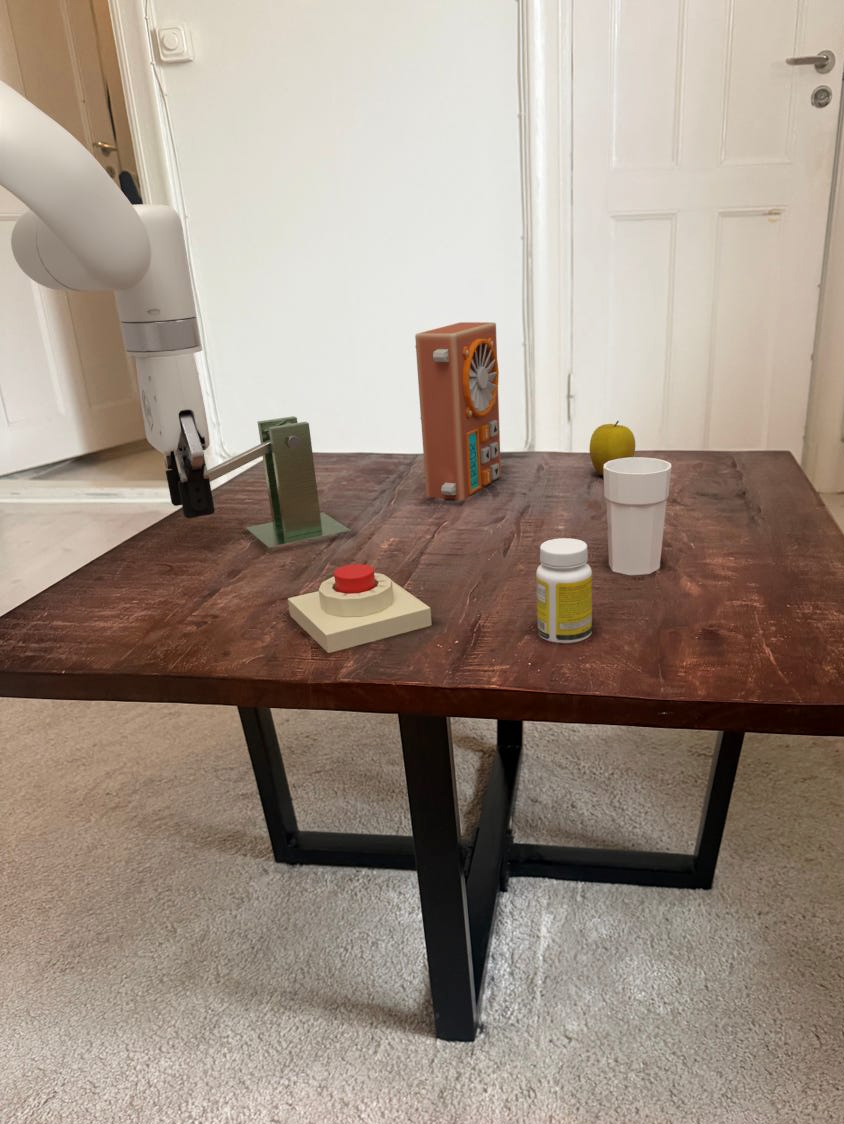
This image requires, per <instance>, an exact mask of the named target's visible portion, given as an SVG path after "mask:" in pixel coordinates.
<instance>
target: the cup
mask: <svg viewBox="0 0 844 1124" xmlns="http://www.w3.org/2000/svg"><path fill="white" fill-rule="evenodd" d="M603 470H604V476H603V496H604V498H605V500H606V519H607V521H606V522H607V523H606V524H607V546H608V547H607V549H608V566H609V568H610V569H611V571H612V572H614V573H619V574H622V575H627V576H638V575H639V576H641V575H650V574H652V573H654V572H656V571H658V570H660V568H661V557H662V549H663V539H664V530H665V520H666V519H665V518H666V511H667V509H666V508H667V502H668V499H669V494H670V485H671V476H672V475H671V474H672V463H671V462H669V461H667V460H664V459H660V458H657V457H656V458H655V457H642V456H639V457H638V456H637V457H636V456H633V457H629V458H621V459H615V460H611V461H608V462H607V463H605V464H604V467H603Z"/></svg>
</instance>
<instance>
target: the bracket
mask: <svg viewBox="0 0 844 1124" xmlns="http://www.w3.org/2000/svg"><path fill="white" fill-rule="evenodd" d="M287 422H290V423H292V424H286V425H283V424H285V423H287ZM257 426H258V427H257V428H258V434H259V435H258V436H259V441H260V444H261V443H263V442H265V441H268V440H270V441H271V448H272V451H271V452H269V453H267V454H265V455H263V456H262V463H263V467H264V474H265V482H266V488H267V495H268V502H269V503H268V504H269V508H270V514H271V516H270V517H271V522H266V523H261V524H256V525H251V526H246V527H245V529H246V530H247V531H249V532H250V533H251V534H252V535H253V536H255V538H257V540H259V541H260V542H261V543H263V544H264V545H265V546H266V547H267V548H273V547H279V546H282V545H287V544H288V545H289V544H292V543H296V542H302V541H306V540H311V539H316V538H321V537H326V536H331V535H336V534H340V533H345V532H350V531H351V529H350V528H348V527H346V526H345V525H344V524H342V523H341V522H339V521H337V520H336V519H335V518H333V517H331V516H330V515H329V514H327V513H326V512H324V511H323V512H321V510H320V501H319V493H318V486H317V478H316V477H317V476H316V469H315V461H314V453H313V446H312V445H313V444H312V438H311V430H310V429H311V427H310V423H309V422H307V421H301V422H298V417H296V416H294V415H293V416H287V417H280V418H279V417H278V418H273V419H266V420H265V419H264V420H259V421H257ZM267 432H269V434H270V438H269V435H268V433H267Z"/></svg>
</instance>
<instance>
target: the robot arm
mask: <svg viewBox="0 0 844 1124" xmlns="http://www.w3.org/2000/svg"><path fill="white" fill-rule="evenodd" d="M0 186H1V187H3V188H4V189H5V190H6V191H9V193H11V194H12V195H13V196H14V197H16V198H17V199H18V200H19V201H20V202H22V203H23V204H24V205H25V206H26V207H27V208H29V210H27V211H26V212H25V213H24V214H22V215H21V216H20V217H19V218H18V219H17V221H16V222H15V224H14V226H13V228H12V233H11V238H10V247H11V251H12V255H13V258H14V260H15V262H16V263H17V266H18V267H19V268H20V269H21V270H22V272H23V273H24V274H25V276H27V277H28V278H29V279H31V280H32V281H34V282H35V283H37V284H39V285H41V286H42V287H45V288H48V289H50V290H54V291H60V292H113V293H114V298H115V303H116V308H117V312H118V318H119V322H120V328H121V334H122V338H123V345H124V349H125V353H126V354H125V355H126V356H127V357H129V358H134V359H135V368H136V369H135V370H136V377H137V379H136V380H137V386H138V392H139V398H140V405H141V410H142V417H143V418H142V419H143V424H144V425H143V426H144V430H145V431H144V432H145V437H146V440H147V442H148V444H149V445H151V446H152V447H153V448H154V449H155V450H156V451H158V452H159V453H161V454H163V460H164V461H163V462H164V466H165V469H166V470H165V475H166V481H167V486H168V492H169V497H170V501H171V504H172V505H173V506H174V507H179V506H181V508H182V513H183V516H184V517H185V518H187V519H193V518H198V517H199V518H200V517H204V516H210V515H213V514H214V513H215V511H216V510H215V506H214V505H215V504H214V498H213V492H212V488H211V487H212V486H211V482H210V480H209V477H208V471H207V470H208V468H207V463H206V459H205V452H204V451H206V450H207V449H208V448H209V446H210V433H209V432H210V431H209V426H208V419H207V413H206V407H205V402H204V397H203V391H202V386H201V382H200V378H199V372H198V368H197V363H196V358H195V355H194V354H195V353H196V354H197V353H199V352H202V351H203V345H202V339H201V334H200V333H201V332H200V325H199V321H198V315H197V310H196V309H197V308H196V302H195V296H194V291H193V284H192V279H191V273H190V271H191V270H190V266H189V259H188V253H187V247H186V246H187V245H186V240H185V234H184V229H183V222H182V219H181V217H180V215H179V213H178V212H177V210H176V209H175V208H174V207H172V206H171V205H170V206H169V205H166V204H158V203H146V204H144V203H140V204H138V203H137V204H132V203H131V201H130V200H129V199H128V197H127V196H126V195H125V194H124V192H123V191H122V190H121V188H120V187H119V186H118V185H117V183H116V181H114V179H113V178H112V177H111V176H110V174H109V173H108V171H106V169H105V168H104V167H103V165H102V164H101V163H100V162H99V161H98V160H97V159H96V158H95V156H93V154H92V153H91V152H90V151H89V150H88V149H87V148H86V147H85V146H84V145H83V143H81V142H80V141H79V140H78V139H77V138H76V137H75V136H74V135H72V133H70V132H69V131H68V130H67V129H65V128H64V127H63V126H62V125H61V124H60V123H58V122H57V121H55V119H53V118H52V117H50V116H49V115H48V114H47V113H45V112H44V111H43V110H41V109H39V108H38V107H37V106H36V105H35V104H33V103H32V102H31V101H30V100H28V99H27V98H26V97H24V96H23V95H22V94H20V93H19V92H18V91H17V90H16V89H14V88H12V87H11V86H10V85H8V84H7V83H5V82H4V81H3V80H1V79H0ZM179 477H180V479H181V481H178V478H179Z"/></svg>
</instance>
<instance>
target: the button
mask: <svg viewBox="0 0 844 1124" xmlns="http://www.w3.org/2000/svg"><path fill="white" fill-rule="evenodd" d="M374 573H375V569H374V568H373V566H371V565H369V564H363V563H361V564H360V563H354V564H347V565H344V566H341V567H338V568H337V569H335V570H334V571H333V577H334V578H335V586H336V591H337V592H340V593H345V594H354V593H362V592H366V591H370V590H372V589H373V588H375V587H376V585H375V575H374Z"/></svg>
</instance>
